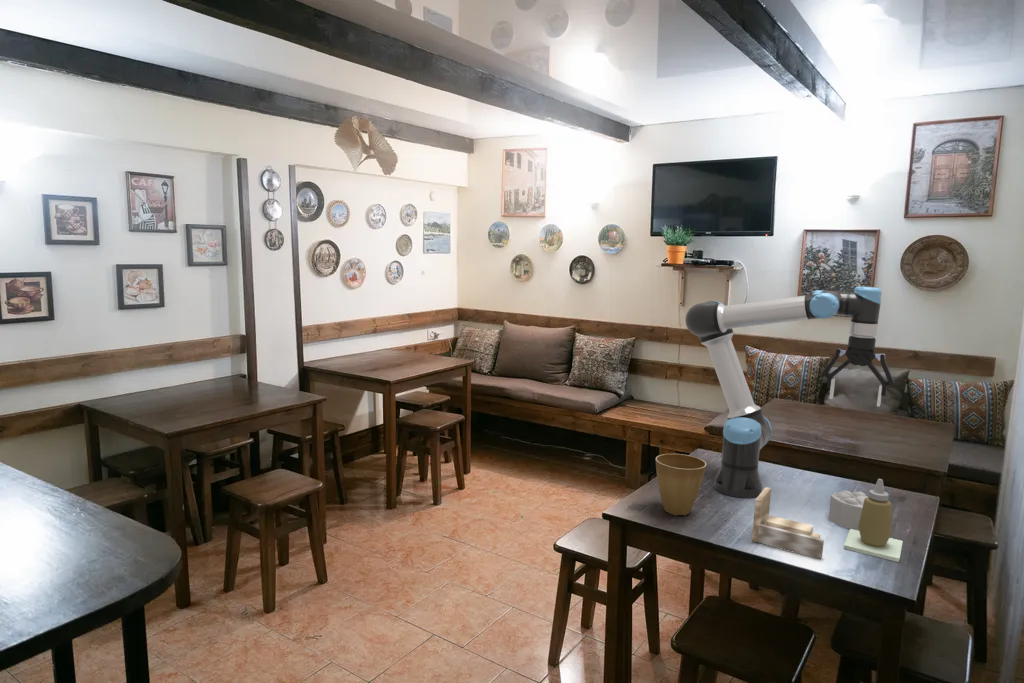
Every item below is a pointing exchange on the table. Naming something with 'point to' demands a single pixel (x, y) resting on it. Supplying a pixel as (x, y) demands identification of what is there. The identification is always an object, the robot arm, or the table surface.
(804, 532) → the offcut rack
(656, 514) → the table surface
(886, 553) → the sage mat
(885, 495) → the squeeze bottle
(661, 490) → the plant pot
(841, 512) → the lumpy-topped squat cylinder
